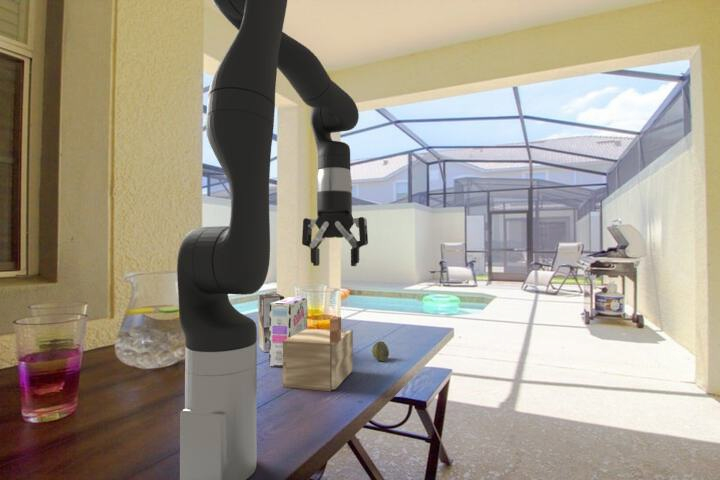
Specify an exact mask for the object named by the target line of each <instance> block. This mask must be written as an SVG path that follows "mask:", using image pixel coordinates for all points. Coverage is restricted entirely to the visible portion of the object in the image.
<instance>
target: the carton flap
mask: <svg viewBox="0 0 720 480" xmlns="http://www.w3.org/2000/svg"><path fill="white" fill-rule="evenodd" d="M329 330H330V343H331V389H332V390H334V391H335V390H336V389H337V388H338V387H339V386H340V385H341V384H342V383H343V381H345V379H347V377H348V376H349V375H350V374H351V373H352V372H353V370H354V343H353V342H354V340H353V339H354V336H353V335H354V332H353V331H354V330H353V329H348V330H346V331H347V332H346V333H344V334H343V335H342V336H341V330H342V316H333V317H331V318H330V319H329Z"/></svg>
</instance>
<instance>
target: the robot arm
mask: <svg viewBox="0 0 720 480" xmlns="http://www.w3.org/2000/svg"><path fill="white" fill-rule="evenodd" d="M212 2H213V4H214V5H215V6H216V8H217V9H218V11H219V12H220V13H221V15H223V16H224V18H226V19H227V21H228V22H229V23H230V24H231V25H232V26H234V28H236V30H238V32H237V34H236V35H235V38H234V39H233V41H232V42H231V44H230V46H229V48H228V49H227V50H226V52H225V54H224V56H223V58H222V59H221V61H220V63H219V64H218V66H217V68H216V70H215V72H214V74H213V76H212V79H211V81H210V86H209V88H208V94H207V95H208V96H207V106H206V118H205V120H206V121H205V132H206V137H207V139H208V142H209V146H210V147H211V150H212V152H213V154H214V156H215V157H216V160H217V162H218V163H219V165H220V167H221V169H222V170H223V173H224V175H225V177H226V180H227V182H228V186H229V191H230V221H229V225H228V226H201V227H197V228H194V229H192V230H190V231H189V232H188V233H187V234H186V235H185V236H184V238H183V239H182V241H181V243H180V245H179V250H178V254H177V262H176V263H177V264H176V266H177V267H176V274H177V275H176V276H177V278H176V279H177V295H178V296H177V297H178V298H177V300H178V316H179V323H180V327H181V329H182V332H183V334H184V338H185V339H184V340H185V342H184V343H185V347H184V348H185V349H184V350H185V354H184V357H185V360H184V361H185V365H184V366H185V368H184V370H185V371H184V409H182V410H181V411H180V417H179V419H180V420H179V421H180V425H179V429H180V430H179V433H180V434H179V438H180V439H179V480H247V479H249V478H250V477H251V476H252V475H253V474H254V473H255V471H256V469H257V457H258V456H257V448H258V447H257V444H258V443H257V401H258V400H257V399H258V397H257V377H258V376H257V371H258V370H257V358H258V357H257V355H258V351H257V350H258V343H257V342H258V338H257V337H258V336H257V335H258V330H257V328H258V327H257V324H256V322H255V321H254V320H253V319H252V318H250V317H249V316H247V315H244V314H243V313H241V312H240V311H239V310H237V309H236V308H235V307H234V306H233V305H232V303H231V302H230V297H229V295H241V296H242V295H245V296H246V295H251V294H252V295H253V294H255V293H257V292H259V290H260V289H261V288H262V287H263V286H264V285H265V284H264V283H266V282H265V281H266V279H267V276H268V273H269V270H270V269H269V268H270V259H271V258H270V257H271V232H270V231H271V230H270V229H271V226H270V221H271V220H270V177H271V176H270V175H271V174H270V173H271V172H270V171H271V160H272V159H271V155H272V145H273V134H274V127H275V125H274V123H275V112H276V111H275V110H276V88H277V87H276V86H277V85H276V84H277V74H278V70H279V72H281V74H282V75H283V76H284V77H285V78H286V80H287V81H288V83H289V84H290V85H291V87H292V88H293V89H294V91H295V92H296V93H297V95H298V96H299V98H300V99H301V100H302V101H303V102H304V104H305V105H307V106H308V107H310V110H309V123H310V126H311V129H312V132H313V133H312V134H313V137H314V141H315V145H316V149H317V178H316V191H317V192H316V203H317V204H316V210H317V211H316V214H317V216H316V218H315V219H311V218H307V217H305V218H304V219H303V221H302V237H301V240H302V241H301V244H302V246H306V247H307V248H309V250H310V262H311V263H310V264H312V265H313V266H314V267H317V266H320V260H321V259H320V248H319V247H320V246H321V244H322V243H323V242H324V241H325V240H326V238H329V239H335V238H337V239H341V238H342V239H343V238H344V239H345V240H346V241H347V242H348V243H349V245H350V246H351V248H350V266H351V267H357V264H359V263H360V249H361V247H364V246H367V245H368V244H369V238H368V225H367V224H368V220H367V218H366V217H363V216H360V217H353V203H352V202H353V199H352V198H353V196H352V195H353V193H352V192H353V185H352V184H353V182H352V173H351V149H350V145H349V144H347V143H346V142H344V141H339V140H338V141H337V140H332V137H331V135H332V134H334V133H340V132H349V131H352V130H353V129H355V127H356V126H357V125H358V122H359V118H360V116H359V114H360V113H359V109H358V106H357V104H356V102H355V101H354V99H353V98H352V97H351V96H350V95H349V94H348V93H347V92H346V91H345V90H344V89H342V88H341V87H340V86H339V85H338V84H337V83H336V82H335V81H334V80H332V79H331V77H330V76H329V73H327V71H326V69H325V68H324V65H323V64H322V62H321V61H320V59H319V58H318V57H317V56H316V54H315V53H314V52H313V51H312V50H311V49H309V48H308V47H307V46H305V45H304V44H302V43H301V42H299V41H297V39H294V37H291V36H290V35H288V34H287V33H286V32H284V31H283V29H284V23H285V17H286V12H287V7H288V6H287V5H288V0H212ZM353 225H355V226H356V228H358V234H359V240H357V238H356V237H355V235H354V234H353V232H352V231H351V229H352V228H353ZM315 226H316V227H317V228H318V231H317V232H316V234H315V236H314V237H312V234H313V233H312V232H313V229H314V228H315ZM312 238H313V240H312Z"/></svg>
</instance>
